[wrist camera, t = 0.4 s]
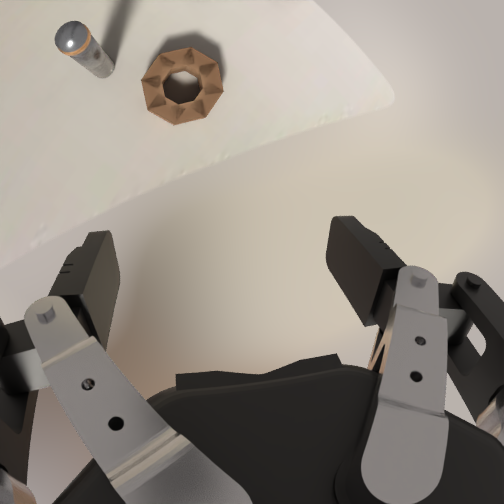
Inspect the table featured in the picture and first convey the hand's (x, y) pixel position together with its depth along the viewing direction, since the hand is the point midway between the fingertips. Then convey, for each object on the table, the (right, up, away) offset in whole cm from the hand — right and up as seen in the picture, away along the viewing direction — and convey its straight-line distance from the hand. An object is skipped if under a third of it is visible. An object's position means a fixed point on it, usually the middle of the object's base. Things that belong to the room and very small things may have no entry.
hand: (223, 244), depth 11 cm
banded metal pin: (-15, +20, +17) cm, 30 cm away
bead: (-7, +18, +20) cm, 28 cm away
